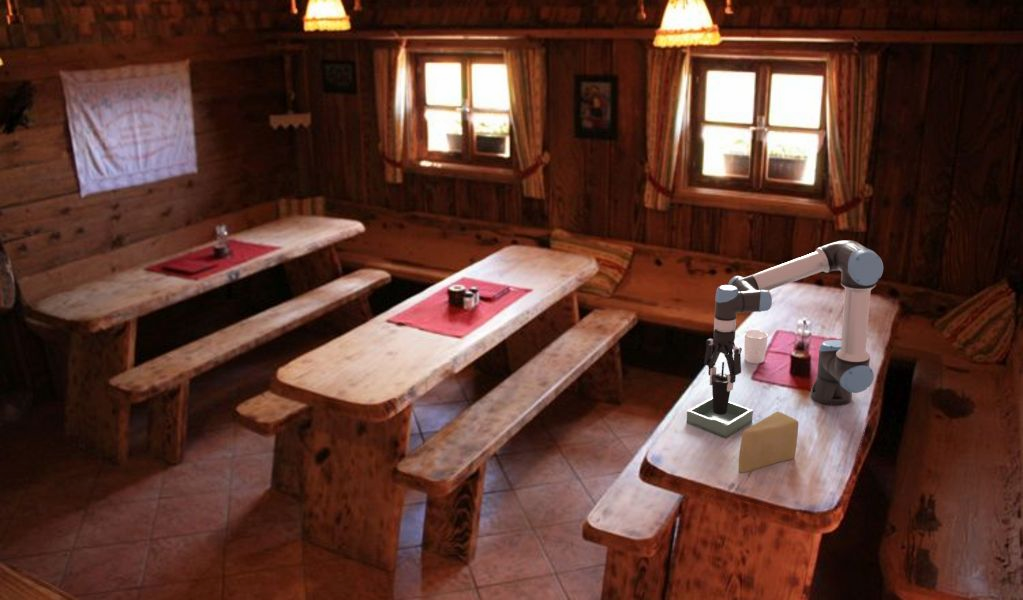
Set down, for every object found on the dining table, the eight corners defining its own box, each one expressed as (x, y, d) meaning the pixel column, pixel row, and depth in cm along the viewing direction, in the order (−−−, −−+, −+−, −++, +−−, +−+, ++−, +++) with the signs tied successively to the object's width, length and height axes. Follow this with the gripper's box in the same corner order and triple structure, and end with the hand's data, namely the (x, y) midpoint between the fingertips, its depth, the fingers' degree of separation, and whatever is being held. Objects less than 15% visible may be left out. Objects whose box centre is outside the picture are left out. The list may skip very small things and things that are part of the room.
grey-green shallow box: (752, 422, 326) (752, 410, 325) (725, 438, 316) (726, 425, 314) (713, 407, 338) (714, 395, 336) (686, 422, 327) (687, 410, 326)
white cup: (761, 366, 373) (763, 339, 369) (739, 361, 378) (741, 335, 374) (768, 358, 380) (770, 332, 376) (747, 353, 385) (749, 328, 381)
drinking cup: (714, 404, 330) (717, 356, 323) (733, 410, 326) (737, 360, 319) (705, 413, 324) (709, 363, 317) (725, 418, 320) (729, 368, 313)
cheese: (750, 479, 290) (753, 438, 285) (728, 466, 298) (731, 427, 293) (796, 459, 301) (800, 419, 296) (774, 447, 309) (777, 409, 304)
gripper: (754, 332, 310) (750, 392, 318) (707, 318, 323) (704, 376, 331) (742, 338, 305) (738, 398, 313) (695, 324, 319) (692, 382, 326)
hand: (721, 387), depth 322 cm, fingers closed on drinking cup, 7 cm apart
